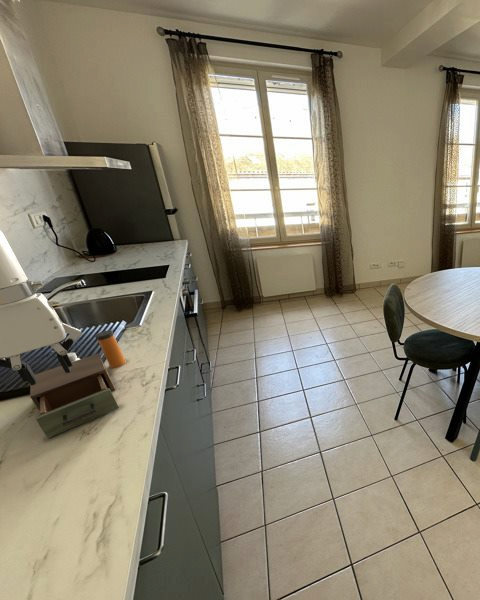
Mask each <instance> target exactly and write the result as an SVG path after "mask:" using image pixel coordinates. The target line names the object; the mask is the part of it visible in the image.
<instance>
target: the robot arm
mask: <svg viewBox="0 0 480 600" xmlns="http://www.w3.org/2000/svg"><path fill="white" fill-rule="evenodd" d="M43 288H44V285H43V282H42V281H41V280H39V281H33V280H30V279H29V278H28V277H27V275H26V273H25V271H24V270H23V268H22V266H21V264H20V261H19V260H18V258H17V256H16V254H15V253H14V250H13V249H12V247H11V245H10V243H9V242H8V240H7V238H6V236H5V234H4V232H2V230H0V367H1V368H7V369H12V370H13V371H17V373H18V375H19V376H20V378H21V379H22V382H23V383H27V382H28V383H29V384H31V385H35V384H36V377H35V373H34V372H33V370H32V368H31V366H30V364H29V363H28V362H25V361H23V360H22V354H24V353H28V352H31V351H34V350H38V349H41V348H45V347H48V346H49V347H51V348H52V349H53V350H54V351H55V352H56V357H57V360H58V362H59V364H60V366H62V367H63V369H64V371H65V373H69V372H71V371H70V367H71V366H73V364H72V362H71V360H70V358H69V356H68V354H67V353H69V350H70V349H71V347H72V346H73V345H74V342H76V341H77V340H78V339H79V338H80V337H81V336H82V335H83V333H82V330H81V329H79V328H76V327H74V326H72V325H69V324H67V323H64V322H63V321H62V320H61V318H60V317H59V315H58V313H57V312H56V310H55V308H54V307H53V305H52V304H51V303H50V301H49V300H48V299H47V297H46V296H45V295H44V294H43V293H42V292H37V290H40V289H43ZM67 334H69V335H68V336H67ZM62 341H63V342H62Z"/></svg>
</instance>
